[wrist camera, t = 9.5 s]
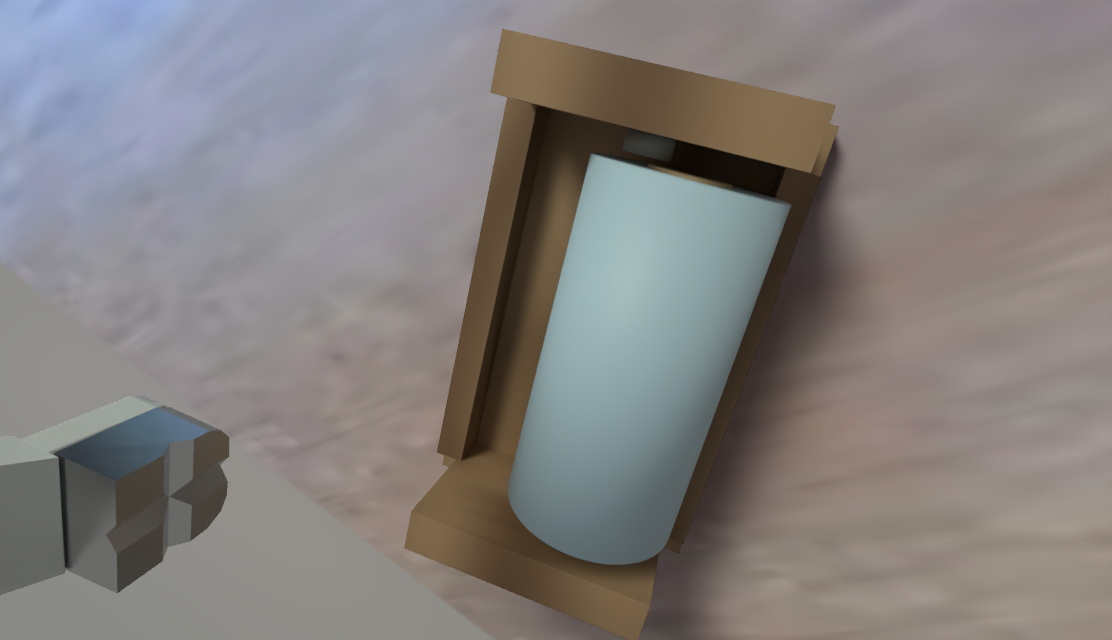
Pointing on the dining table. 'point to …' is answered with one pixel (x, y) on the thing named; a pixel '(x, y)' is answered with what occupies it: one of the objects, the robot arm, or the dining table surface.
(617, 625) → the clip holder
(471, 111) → the dining table surface
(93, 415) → the robot arm
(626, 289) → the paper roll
